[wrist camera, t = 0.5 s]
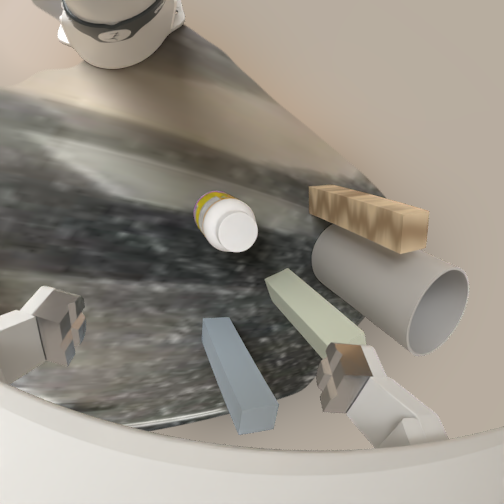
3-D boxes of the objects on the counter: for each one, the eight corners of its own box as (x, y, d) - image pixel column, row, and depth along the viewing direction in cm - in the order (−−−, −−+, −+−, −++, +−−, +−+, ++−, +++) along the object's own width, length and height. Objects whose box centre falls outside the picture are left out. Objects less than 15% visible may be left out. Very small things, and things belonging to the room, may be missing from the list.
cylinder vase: (353, 288, 62) (445, 353, 39) (300, 281, 57) (391, 359, 35) (374, 227, 59) (479, 273, 36) (321, 212, 54) (432, 260, 32)
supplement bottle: (244, 212, 50) (277, 234, 38) (212, 242, 50) (235, 272, 38) (216, 180, 47) (242, 191, 35) (183, 211, 47) (197, 232, 35)
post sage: (264, 279, 55) (332, 351, 35) (287, 268, 55) (364, 332, 36) (271, 300, 56) (338, 376, 37) (294, 289, 57) (367, 358, 37)
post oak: (308, 186, 52) (403, 214, 32) (331, 184, 53) (429, 211, 33) (309, 213, 53) (400, 254, 34) (332, 210, 55) (425, 247, 35)
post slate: (202, 318, 53) (242, 410, 33) (229, 317, 55) (278, 404, 35) (201, 340, 54) (238, 435, 35) (227, 339, 56) (273, 428, 36)
